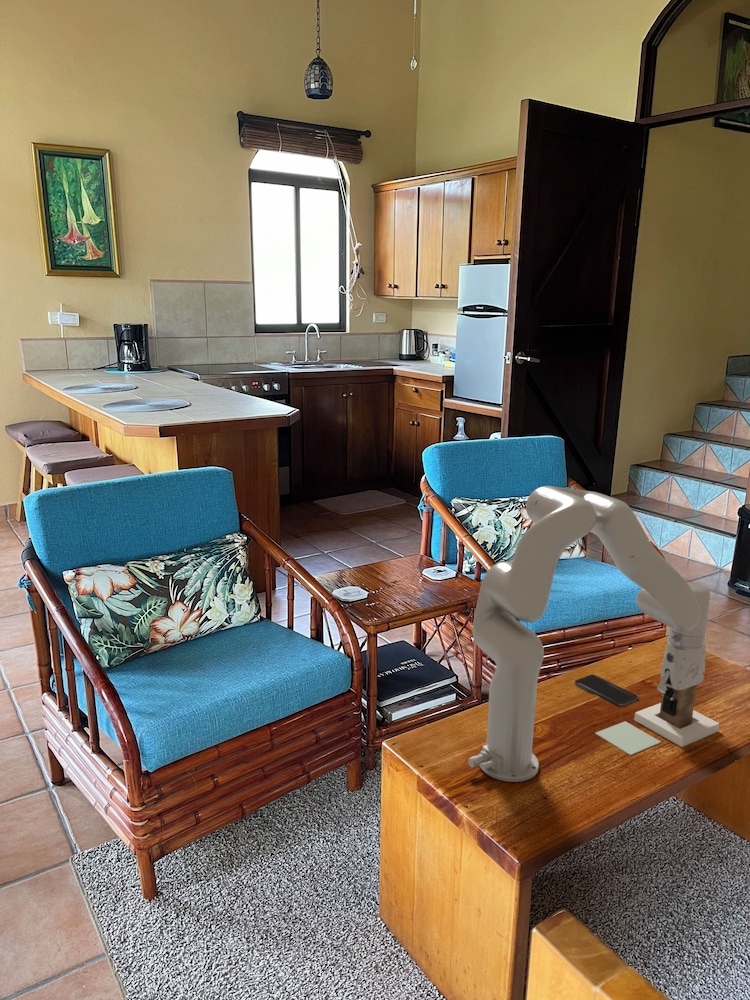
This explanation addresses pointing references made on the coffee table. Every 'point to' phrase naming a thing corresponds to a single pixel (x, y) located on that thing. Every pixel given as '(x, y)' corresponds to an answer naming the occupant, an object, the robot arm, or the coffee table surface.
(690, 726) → the pocket plate
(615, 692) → the phone
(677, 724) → the walnut block
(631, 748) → the green mat
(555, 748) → the coffee table surface
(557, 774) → the coffee table surface
